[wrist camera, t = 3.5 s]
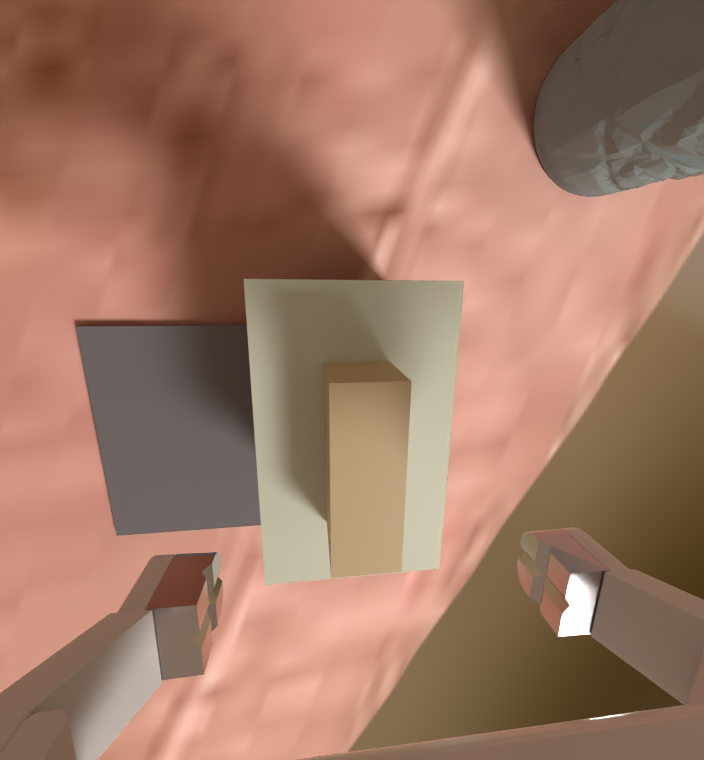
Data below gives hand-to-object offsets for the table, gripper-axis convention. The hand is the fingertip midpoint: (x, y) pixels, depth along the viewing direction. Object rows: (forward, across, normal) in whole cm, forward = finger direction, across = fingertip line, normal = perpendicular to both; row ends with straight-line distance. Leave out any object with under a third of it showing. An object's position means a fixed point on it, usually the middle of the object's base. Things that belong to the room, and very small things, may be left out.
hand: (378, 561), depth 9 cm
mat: (+14, +10, +2) cm, 18 cm away
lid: (+6, 0, -1) cm, 7 cm away
